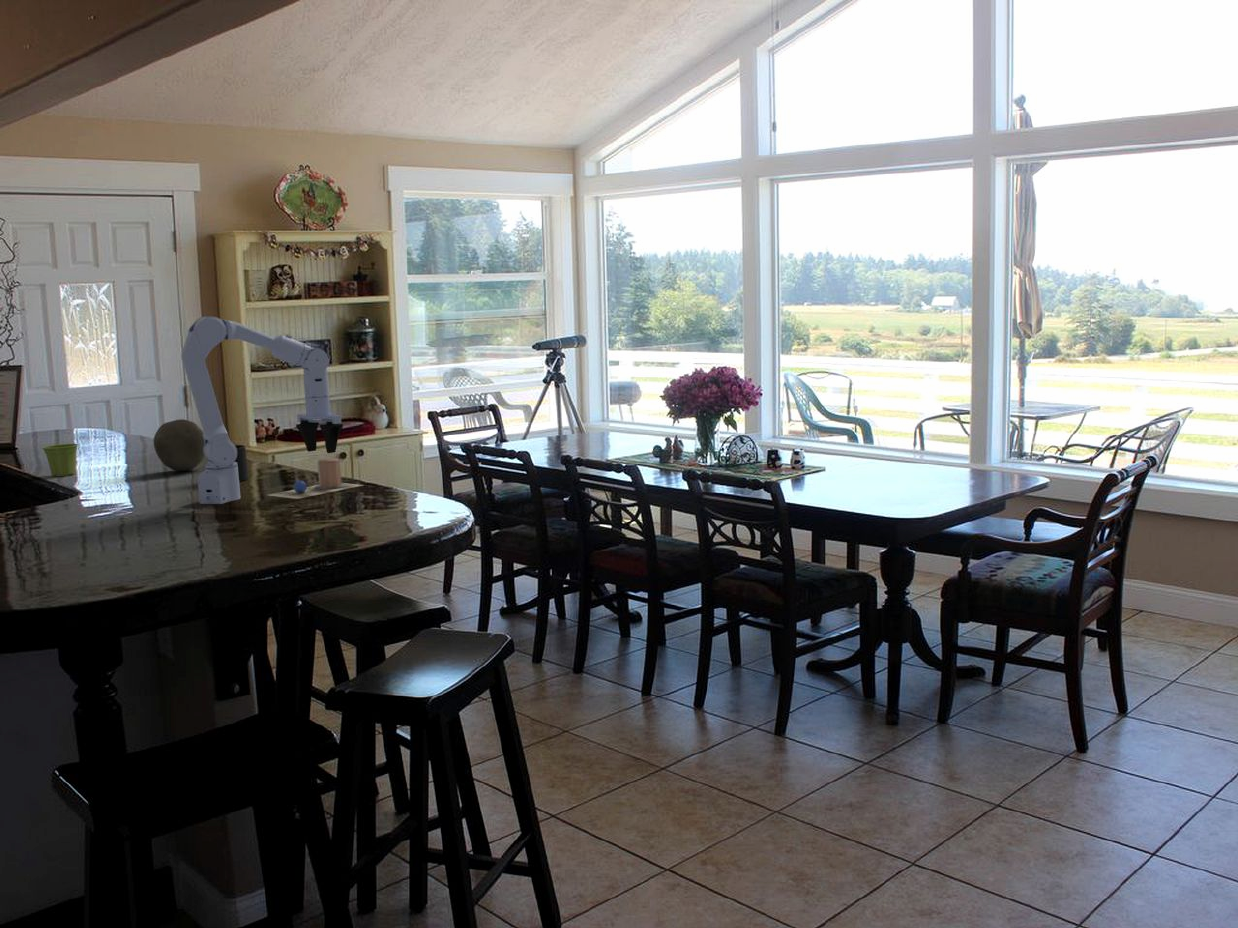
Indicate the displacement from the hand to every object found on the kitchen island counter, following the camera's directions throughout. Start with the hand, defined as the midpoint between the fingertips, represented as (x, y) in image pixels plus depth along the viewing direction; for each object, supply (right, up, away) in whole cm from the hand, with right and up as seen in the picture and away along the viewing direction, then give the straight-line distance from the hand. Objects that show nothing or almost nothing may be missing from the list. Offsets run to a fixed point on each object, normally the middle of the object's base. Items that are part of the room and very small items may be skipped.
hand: (321, 451), depth 288 cm
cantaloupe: (-52, -5, +47) cm, 70 cm away
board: (-1, -10, -2) cm, 11 cm away
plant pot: (-88, -6, +52) cm, 102 cm away
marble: (-4, -9, -6) cm, 11 cm away
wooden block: (+2, -8, +1) cm, 9 cm away
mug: (-32, -8, +27) cm, 43 cm away
